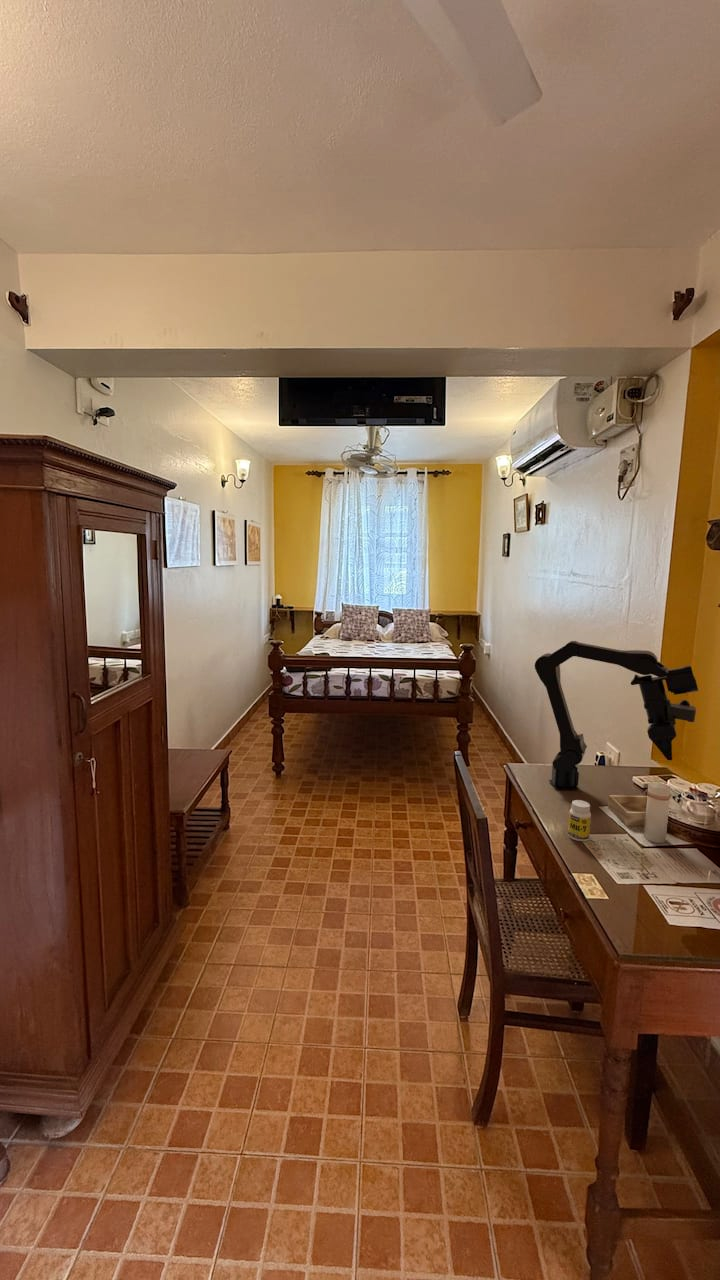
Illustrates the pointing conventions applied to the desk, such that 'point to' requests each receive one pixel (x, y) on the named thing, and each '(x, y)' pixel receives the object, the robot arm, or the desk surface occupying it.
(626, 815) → the tray
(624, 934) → the desk surface
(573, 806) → the supplement bottle
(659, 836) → the vase
